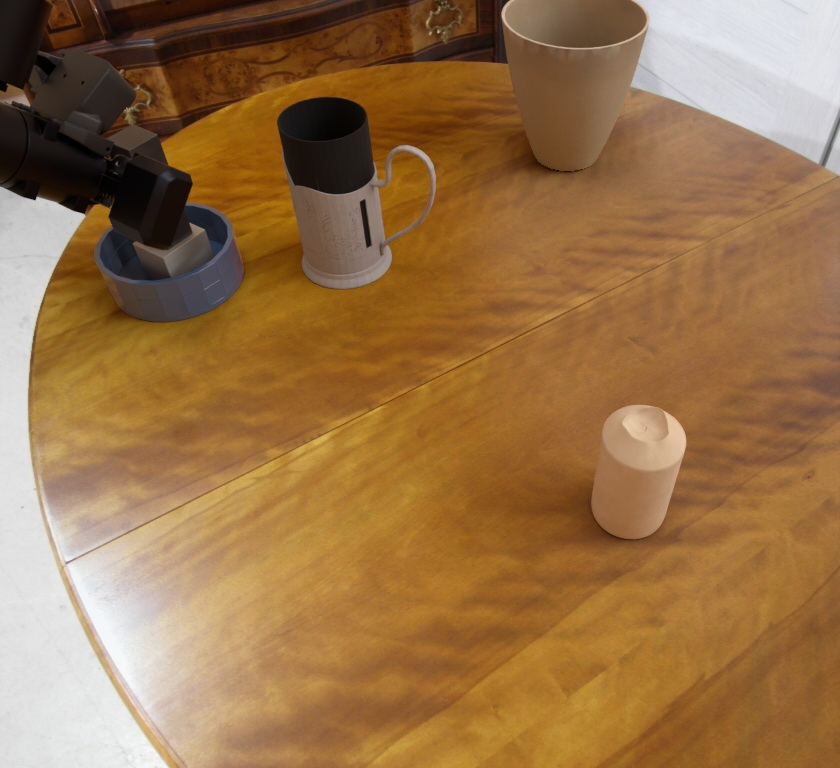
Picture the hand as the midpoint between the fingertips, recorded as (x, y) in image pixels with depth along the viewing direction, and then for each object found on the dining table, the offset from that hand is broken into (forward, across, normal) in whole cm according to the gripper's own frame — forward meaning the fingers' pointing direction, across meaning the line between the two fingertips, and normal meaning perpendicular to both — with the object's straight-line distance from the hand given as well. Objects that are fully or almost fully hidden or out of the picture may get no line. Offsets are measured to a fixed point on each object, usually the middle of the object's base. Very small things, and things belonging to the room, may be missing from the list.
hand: (169, 201), depth 69 cm
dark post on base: (+4, 0, +6) cm, 7 cm away
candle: (+4, -48, +7) cm, 48 cm away
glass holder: (+12, -14, -1) cm, 19 cm away
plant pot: (+32, -20, -21) cm, 43 cm away
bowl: (+4, 0, +7) cm, 8 cm away
